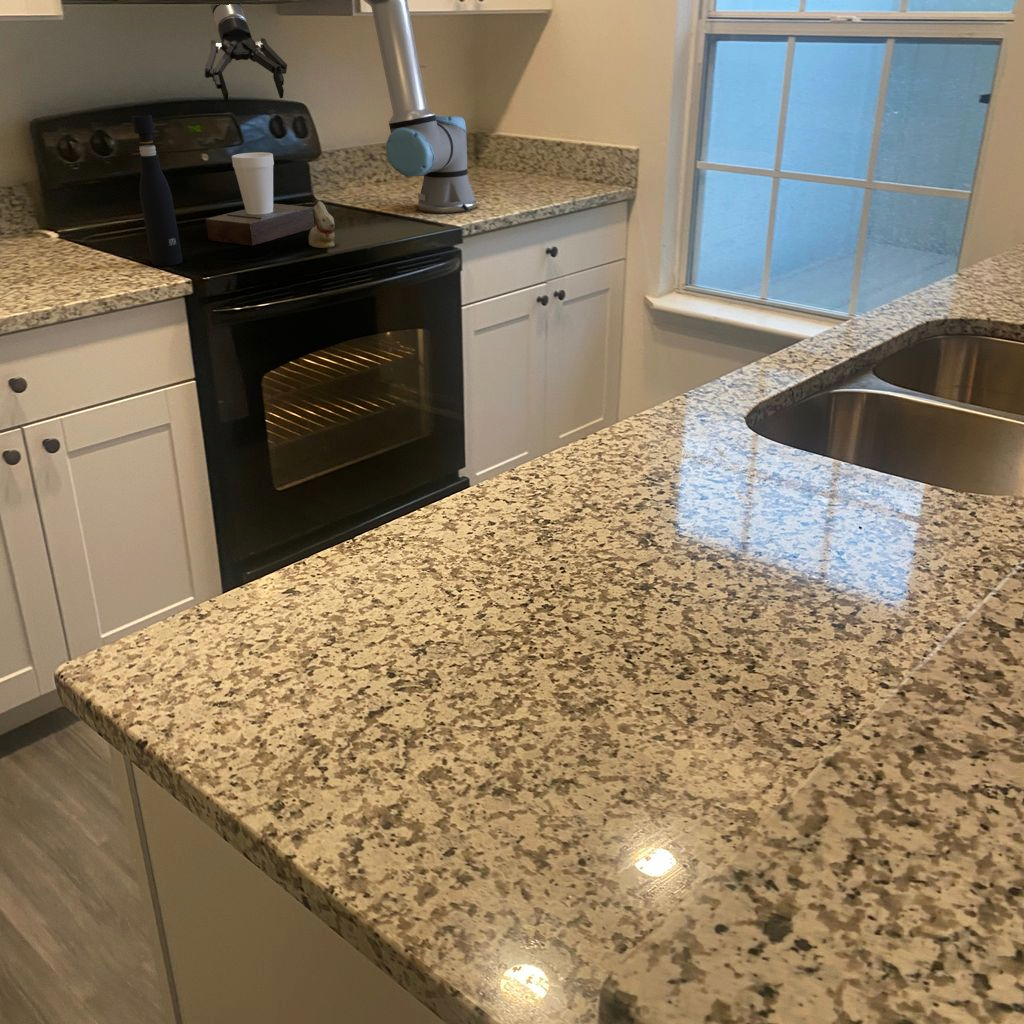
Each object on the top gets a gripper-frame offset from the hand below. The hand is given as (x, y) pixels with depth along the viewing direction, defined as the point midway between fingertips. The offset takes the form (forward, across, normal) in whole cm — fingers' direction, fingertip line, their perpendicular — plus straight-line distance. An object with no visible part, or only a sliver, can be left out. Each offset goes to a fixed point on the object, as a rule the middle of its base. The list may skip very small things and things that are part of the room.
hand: (254, 96), depth 251 cm
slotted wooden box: (+33, +6, -9) cm, 35 cm away
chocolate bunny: (+48, -3, +6) cm, 48 cm away
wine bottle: (+47, +31, +5) cm, 57 cm away
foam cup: (+30, +6, -5) cm, 31 cm away
